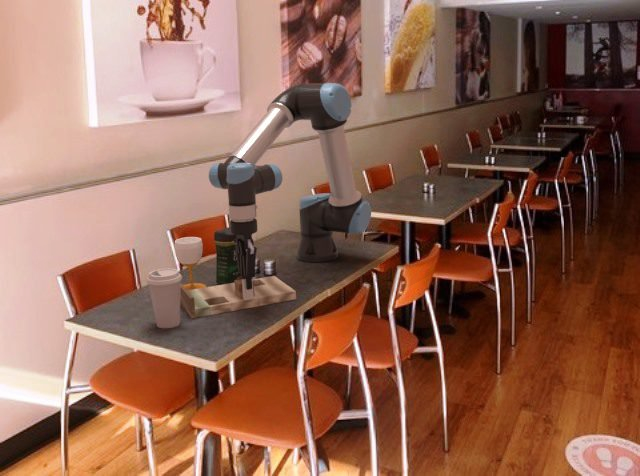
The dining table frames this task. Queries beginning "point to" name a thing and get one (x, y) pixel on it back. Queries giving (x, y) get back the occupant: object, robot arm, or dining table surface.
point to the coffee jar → (226, 257)
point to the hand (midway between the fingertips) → (248, 298)
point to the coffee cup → (165, 296)
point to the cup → (189, 256)
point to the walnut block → (239, 288)
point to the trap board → (233, 297)
